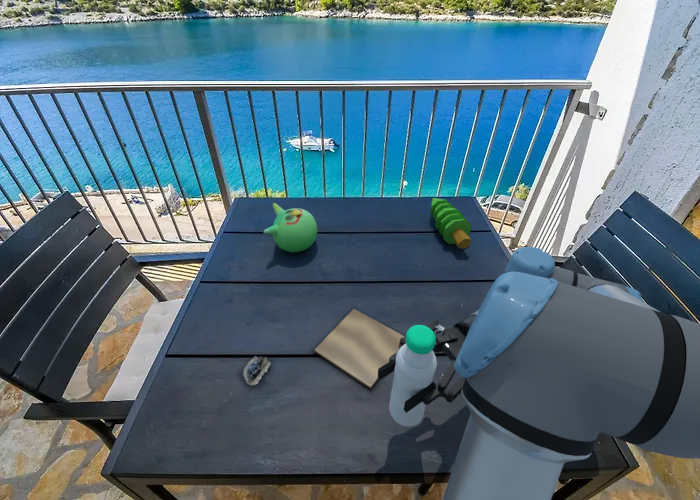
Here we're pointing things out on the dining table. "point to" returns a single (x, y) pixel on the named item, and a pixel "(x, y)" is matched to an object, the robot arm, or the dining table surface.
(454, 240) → the decorative tree
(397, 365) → the water bottle
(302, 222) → the toy bird
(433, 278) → the dining table surface
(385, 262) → the dining table surface
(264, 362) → the geode
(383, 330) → the gold metal sheet
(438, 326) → the robot arm
